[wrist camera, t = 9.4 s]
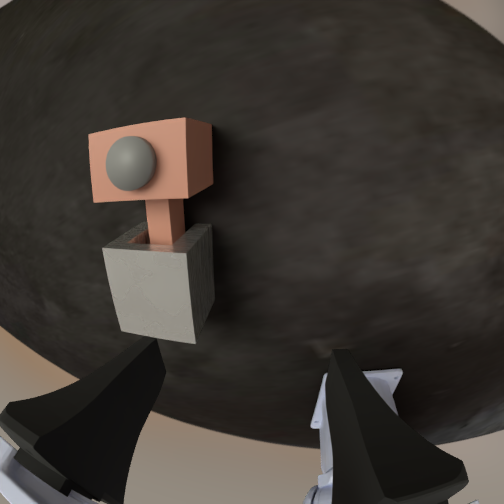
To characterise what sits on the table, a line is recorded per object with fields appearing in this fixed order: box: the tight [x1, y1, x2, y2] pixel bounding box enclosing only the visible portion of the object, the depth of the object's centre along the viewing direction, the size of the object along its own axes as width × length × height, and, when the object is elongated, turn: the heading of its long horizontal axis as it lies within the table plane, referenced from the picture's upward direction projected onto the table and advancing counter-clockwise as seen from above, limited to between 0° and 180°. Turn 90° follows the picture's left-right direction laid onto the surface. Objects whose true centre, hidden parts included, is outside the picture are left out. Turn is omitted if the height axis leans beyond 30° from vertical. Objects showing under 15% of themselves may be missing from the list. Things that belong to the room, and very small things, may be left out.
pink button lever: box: [89, 118, 213, 245], centre depth 17 cm, size 14×6×6 cm, turn 0°
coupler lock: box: [102, 222, 215, 344], centre depth 18 cm, size 6×5×5 cm
